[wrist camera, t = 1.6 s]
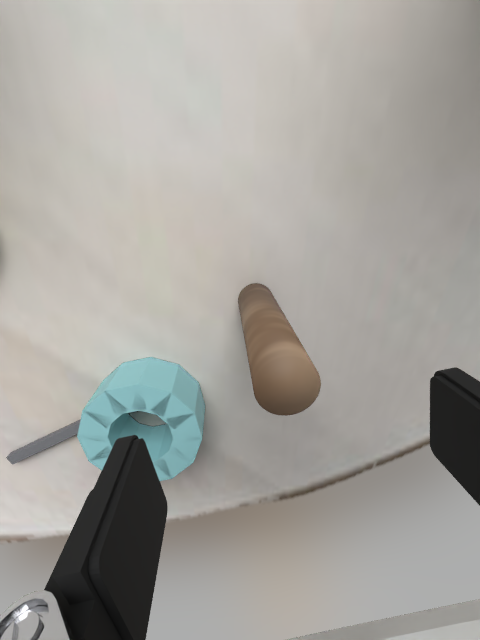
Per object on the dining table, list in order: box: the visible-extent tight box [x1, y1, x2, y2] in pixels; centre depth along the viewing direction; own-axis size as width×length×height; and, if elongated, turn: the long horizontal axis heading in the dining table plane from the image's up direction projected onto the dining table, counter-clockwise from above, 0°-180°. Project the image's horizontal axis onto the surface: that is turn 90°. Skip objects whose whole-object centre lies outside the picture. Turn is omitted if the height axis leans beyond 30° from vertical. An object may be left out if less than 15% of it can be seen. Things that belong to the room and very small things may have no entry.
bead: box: [77, 357, 205, 481], centre depth 24 cm, size 8×8×4 cm
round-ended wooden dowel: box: [238, 283, 321, 415], centre depth 18 cm, size 3×3×12 cm
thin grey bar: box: [6, 420, 81, 464], centre depth 26 cm, size 9×1×1 cm, turn 116°
